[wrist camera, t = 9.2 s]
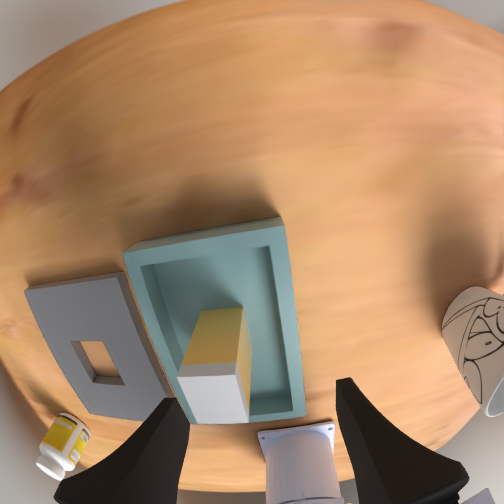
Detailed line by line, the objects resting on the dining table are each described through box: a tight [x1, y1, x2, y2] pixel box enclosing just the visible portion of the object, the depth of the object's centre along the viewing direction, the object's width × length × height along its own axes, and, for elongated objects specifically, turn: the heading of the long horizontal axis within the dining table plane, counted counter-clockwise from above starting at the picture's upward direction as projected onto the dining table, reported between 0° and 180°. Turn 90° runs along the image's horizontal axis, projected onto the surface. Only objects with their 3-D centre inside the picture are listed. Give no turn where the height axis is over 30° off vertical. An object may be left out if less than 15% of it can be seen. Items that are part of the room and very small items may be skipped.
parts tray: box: [122, 217, 306, 424], centre depth 19 cm, size 16×10×3 cm, turn 10°
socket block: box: [24, 271, 175, 421], centre depth 22 cm, size 16×12×1 cm
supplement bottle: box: [36, 413, 90, 481], centre depth 22 cm, size 5×5×10 cm
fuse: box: [177, 306, 252, 424], centre depth 16 cm, size 4×3×7 cm
